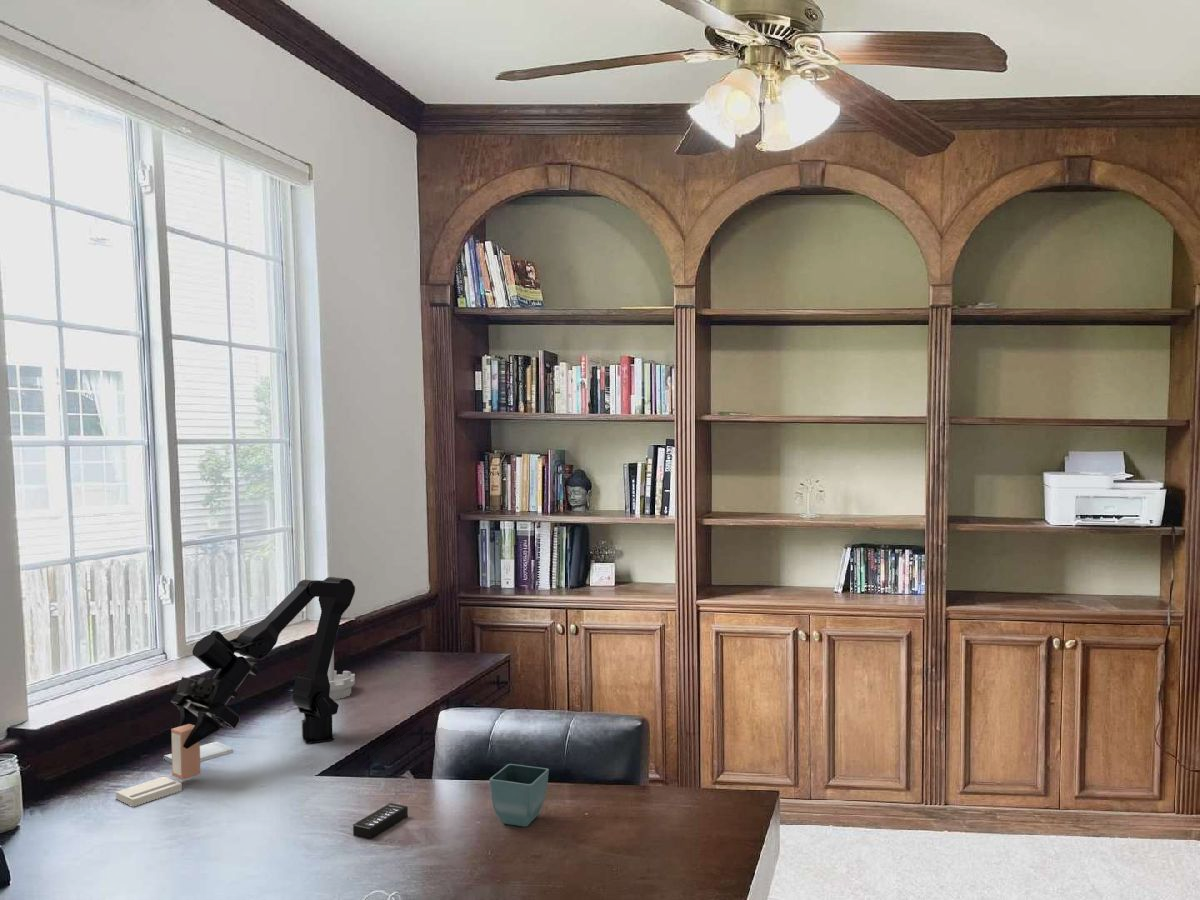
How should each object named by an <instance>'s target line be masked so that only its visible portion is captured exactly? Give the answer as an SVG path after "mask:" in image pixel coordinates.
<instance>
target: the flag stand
mask: <svg viewBox="0 0 1200 900" xmlns="http://www.w3.org/2000/svg"><path fill="white" fill-rule="evenodd" d="M334 651H335V648H334V649H333V653H332V657H331V661H330V665H329V669H328V679H329V683H330V695H329V697H330V698H331V699H332V700H334V701H335V700H340V698H341V699H344V697H345V698H347V697H346V696H348V697H349V696H351V695H352V687H353V686H355V683H356V676H355V673H352V671H349V670H343V671H342V674H339V673H338V671H337V670H335V652H334ZM337 673H338V674H337ZM350 694H351V695H350Z"/></svg>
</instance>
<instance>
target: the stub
mask: <svg viewBox="0 0 1200 900" xmlns="http://www.w3.org/2000/svg"><path fill="white" fill-rule="evenodd" d="M194 726H195V725H191V724H187V725H183V726H180V727H178V726H177V727H174V728H171V729H170V730H171V731H170V732H171V733H170V734H171V738H170V739H171V754H172V764H171V771H172V772H171V776H172V777H174V778H178V779H180V780H182V781H183V780H185V779H188V778H192V777H194V776H198V775H200V774H201V762H200V746H201V740H200V741H199V742H197V743H196V744H194V745H192V746H191V747H189V748H188V749H186V748H185V747H183V745H184V743H185V741H186V739H187V738H188V736H189V734H190V733H191V731H192V730H193V728H194Z"/></svg>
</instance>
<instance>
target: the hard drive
mask: <svg viewBox="0 0 1200 900" xmlns="http://www.w3.org/2000/svg"><path fill="white" fill-rule="evenodd" d="M232 752H233V753H234V748H232V747H231V746H229V745H227V744H224V743H221V742H219V741H214V742H211V743H205V744H202V745H200V763H201V762H205V761H209V760H212V759H216V758H219V757H222V756H225V755H226V756H227V755H229V754H232ZM164 759H165V760H167V761H169V762H171V763H172V753H169V754H165V755H163V760H164ZM165 760H164V761H165ZM167 761H166V762H167ZM169 762H168V763H169ZM171 763H170V764H171Z"/></svg>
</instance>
